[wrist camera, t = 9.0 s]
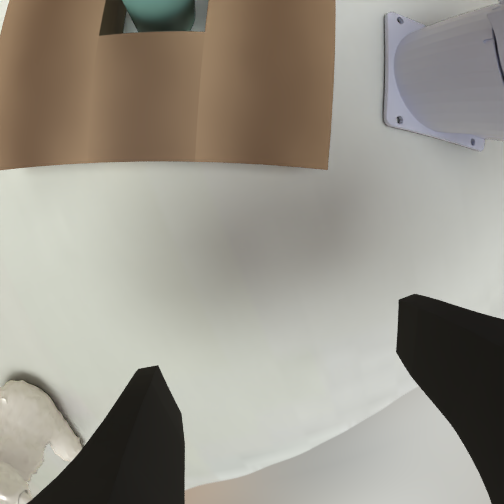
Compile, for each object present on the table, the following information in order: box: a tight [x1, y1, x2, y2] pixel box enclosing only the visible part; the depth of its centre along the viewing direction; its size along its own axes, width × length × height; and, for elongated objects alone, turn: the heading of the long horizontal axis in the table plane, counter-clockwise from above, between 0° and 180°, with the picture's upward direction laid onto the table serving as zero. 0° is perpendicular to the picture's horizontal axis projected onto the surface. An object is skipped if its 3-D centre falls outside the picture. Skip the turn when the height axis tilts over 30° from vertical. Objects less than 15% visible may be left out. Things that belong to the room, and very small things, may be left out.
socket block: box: [0, 0, 335, 170], centre depth 12 cm, size 16×16×4 cm
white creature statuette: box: [0, 380, 82, 504], centre depth 14 cm, size 10×9×12 cm
